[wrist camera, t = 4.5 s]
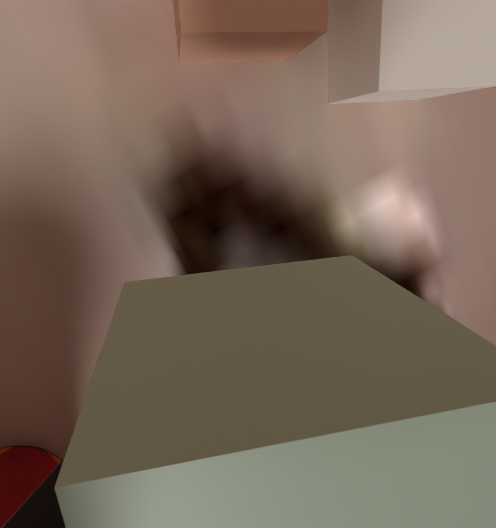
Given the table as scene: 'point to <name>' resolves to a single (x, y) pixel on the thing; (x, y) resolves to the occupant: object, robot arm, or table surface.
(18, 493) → the paper cup
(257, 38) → the terracotta cube
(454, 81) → the cream cube
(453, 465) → the sage cube
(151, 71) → the table surface
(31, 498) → the robot arm
